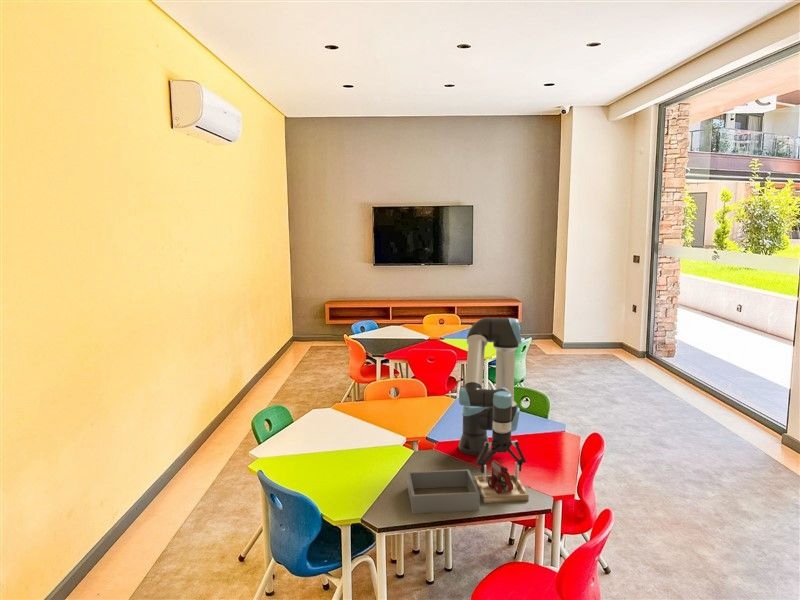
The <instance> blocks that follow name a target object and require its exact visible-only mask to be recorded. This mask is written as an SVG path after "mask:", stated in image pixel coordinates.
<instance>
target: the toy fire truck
mask: <svg viewBox="0 0 800 600" xmlns="http://www.w3.org/2000/svg"><path fill="white" fill-rule="evenodd" d="M490 464H491V474H490V475H491V478H488V485H489V487H490V488H494V489H495V491H496V493H498V494H499V493H502V491H503V490H505V491H507V492H510V491H511V490H513V483H512V482H511V480H510V475H509V474H510V473H509V472H508V471H509V470H508V467H506V466H504V465H503V464H502V463H500V461H497V460H496V459H494V460H491V463H490Z"/></svg>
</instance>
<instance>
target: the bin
mask: <svg viewBox="0 0 800 600" xmlns="http://www.w3.org/2000/svg"><path fill="white" fill-rule="evenodd" d="M406 472H407V482H406V483H407V493H408V498H409V502H410V508H412V509H411V512H412V513H411V514H425V512H430V513H449V512H450V513H451V512H465V511H467V512H469V511H480V500H481V499H480V498H481V495H480V493H479V491H478V488H477V486H476V484H475V482H474V477H473V475H472V473H471V470H470V469H468V468H467V469H450V470H449V469H448V470H447V469H445V470H428V471H427V470H426V471H422V470H420V471H406ZM439 487H440V488H455V487H456V488H457V487H459V488H460V487H467V489H468V492H450V493H448V492H447V493H428V494H427V493H426V494H423V493H422V494H415V491H414V490H415V489H416V488H418V489H434V488H436V489H438V488H439ZM440 488H439V489H440ZM416 490H417V489H416Z"/></svg>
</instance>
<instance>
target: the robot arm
mask: <svg viewBox="0 0 800 600" xmlns="http://www.w3.org/2000/svg"><path fill="white" fill-rule="evenodd" d="M488 343H493V345H492V347H493V348H494V349H495V351H496V352H495V353H496V355H495V356H496V357H495V389H487V388H483V381H484V367H485V353H486V352H485V348H486V346H488ZM521 343H522V335H521V326H520V320H519V319H517V318H512V317H483V318H480V319H478V320H477V321H475V322H474V324H473V325H472V326H471V328H470V329H469V330H468V333H467V336H466V344H467V345H468V347H467V359H466V369H465V377H464V387H460V388H459V391H458V404H459V405H460V406H462V407H463V408H462V413H461V415H462V435H461V437H460V439H459V442H458V450H459V451H460V452H461V453H463V454H465V455H469V456H477V458H476V460H475V462H476V464H477V465H478V466H480V473H481V474H482V475H483V480H484V482H486V475H487V463H488V462H489V461H490V460H491V459H492V458H493V456H494V455H496V453H498V454H501V453H502V454H503V453H507V452H508V454H510V455H511V457H512V458H513V459H514V460H515V461H516V462H514V464H515V466H514V467H515V468H514V469H515V470H514V474H515V478H516V479H517V480H520V472H521V471H522V465H523V464H525V463H527V460H526V458H525V456H524V454H523V452H522V450H521V448H520V443H519V441H518V440H517V439H514V440H512V433H514V432H516V431H517V430H518V425H519V424H518V423H519V419H520V409H521V408H520V407H518V404H517V402H516V401H515V400H514V399H515V398H514V397H515V395H514V394H515V366H516V365H515V362H516V361H515V359H516V357H515V356H516V350H517V349H518V348H519V344H521ZM488 431H492V432H491V433H492V434H491V436H492V437H491V441H489V437H488ZM512 446H513V447H515V449H516V451H517V453H518V456H519V457H520V458H519V457H518V456H517V455H516V453H514V452H513V450H512V449H511V447H512Z"/></svg>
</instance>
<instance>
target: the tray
mask: <svg viewBox="0 0 800 600" xmlns="http://www.w3.org/2000/svg"><path fill="white" fill-rule="evenodd" d="M491 475H492V474H488V475H487V474H486V482H484V480H483V474H482V475H481V474H480V475H474V477H473V479H474V482H475V484H476V486H477V488H478V491H479V493H480V498H481V500H482V502H483V504H488V503H489V504H490V503H492V502H494V503H511V502H510V501H514V502H529V499H530V498H529V495H530V494H529V493H528V492H527V490H526V488H525V486H524V484H523V483H522V482H521V480H520V479H519V480H517V479H516V478H515V473H509V475H510V480H511V482H512V483H513V490H511V491H510V492H507V491H505V490H503V491H502V493H499V494H498V493H496V491H495V489H494V488H490V487H489V485H488V478H491Z"/></svg>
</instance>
